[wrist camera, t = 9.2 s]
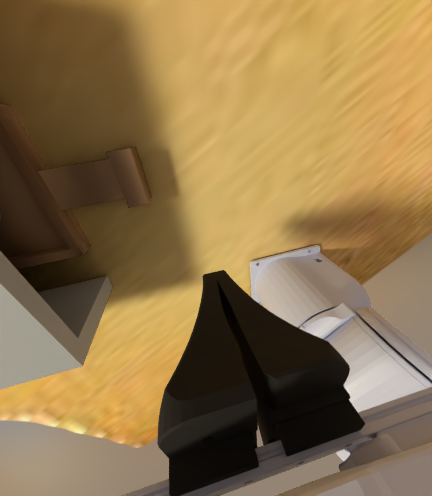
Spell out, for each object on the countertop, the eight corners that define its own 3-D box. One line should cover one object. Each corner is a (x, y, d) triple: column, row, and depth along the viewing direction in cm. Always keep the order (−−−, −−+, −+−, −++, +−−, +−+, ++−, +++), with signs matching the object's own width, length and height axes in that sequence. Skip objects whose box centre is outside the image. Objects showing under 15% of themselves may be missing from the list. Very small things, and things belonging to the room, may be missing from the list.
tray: (117, 91, 13) (107, 82, 11) (162, 230, 19) (161, 241, 17) (-163, 129, 12) (-235, 127, 10) (-22, 269, 17) (-47, 286, 15)
